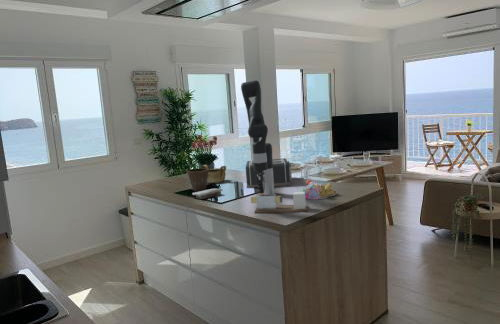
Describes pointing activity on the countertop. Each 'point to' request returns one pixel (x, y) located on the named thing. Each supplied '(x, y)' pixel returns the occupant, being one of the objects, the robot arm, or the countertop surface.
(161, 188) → the countertop surface
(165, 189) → the countertop surface
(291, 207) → the base board
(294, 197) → the socket
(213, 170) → the woven basket
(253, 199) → the sliding latch bolt
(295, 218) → the countertop surface
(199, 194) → the packaged product
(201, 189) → the plant pot
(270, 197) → the sleeve
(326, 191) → the candy landscape model
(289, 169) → the toaster
